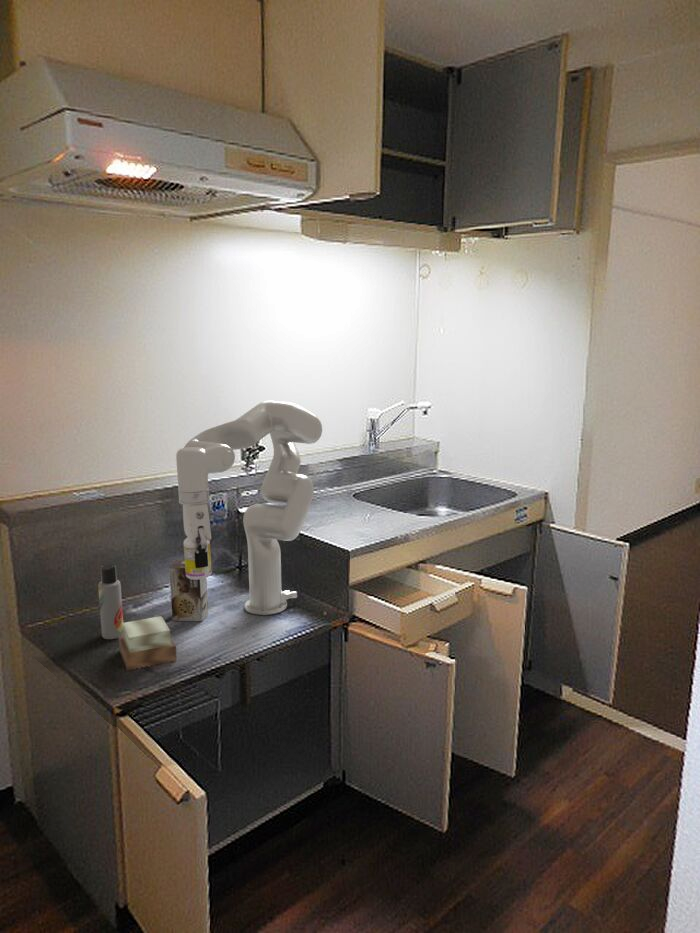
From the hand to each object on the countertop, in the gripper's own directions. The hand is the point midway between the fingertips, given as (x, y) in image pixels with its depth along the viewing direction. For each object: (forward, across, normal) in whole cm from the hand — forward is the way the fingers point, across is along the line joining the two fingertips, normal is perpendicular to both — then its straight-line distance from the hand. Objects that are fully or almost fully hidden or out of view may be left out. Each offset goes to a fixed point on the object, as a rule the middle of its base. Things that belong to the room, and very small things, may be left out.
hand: (197, 562), depth 188 cm
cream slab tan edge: (+22, -2, +15) cm, 27 cm away
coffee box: (+23, +18, -1) cm, 30 cm away
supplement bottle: (+4, 0, 0) cm, 4 cm away
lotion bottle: (+23, +16, +21) cm, 34 cm away
